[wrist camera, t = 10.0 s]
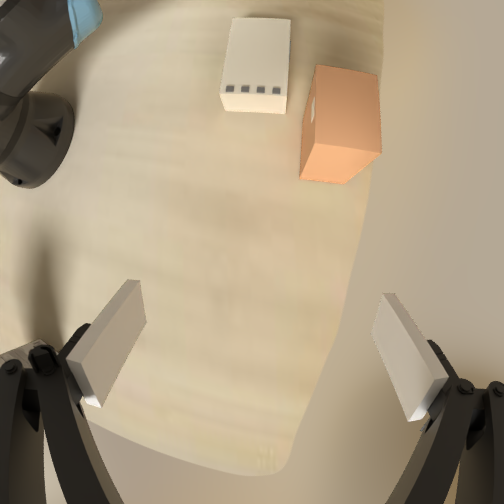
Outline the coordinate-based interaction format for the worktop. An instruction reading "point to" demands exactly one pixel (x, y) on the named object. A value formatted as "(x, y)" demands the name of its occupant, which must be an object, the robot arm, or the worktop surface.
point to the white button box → (256, 65)
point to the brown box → (340, 125)
